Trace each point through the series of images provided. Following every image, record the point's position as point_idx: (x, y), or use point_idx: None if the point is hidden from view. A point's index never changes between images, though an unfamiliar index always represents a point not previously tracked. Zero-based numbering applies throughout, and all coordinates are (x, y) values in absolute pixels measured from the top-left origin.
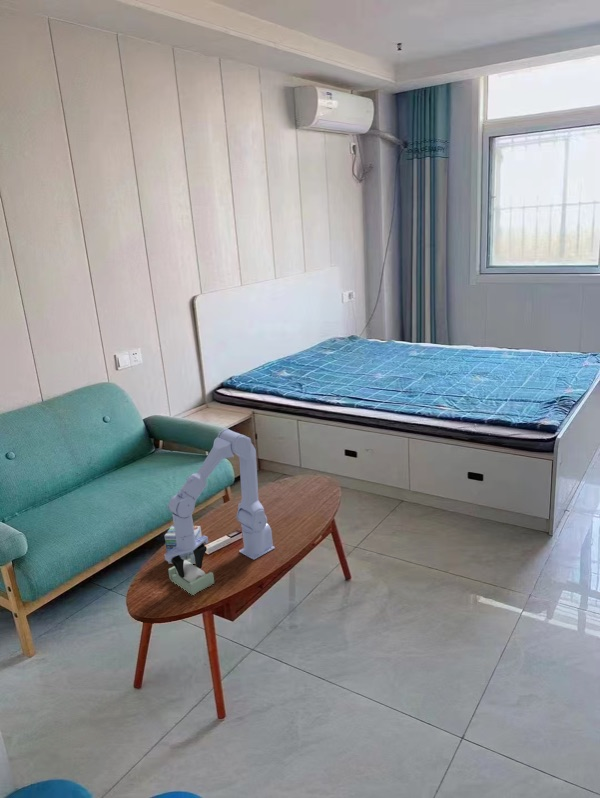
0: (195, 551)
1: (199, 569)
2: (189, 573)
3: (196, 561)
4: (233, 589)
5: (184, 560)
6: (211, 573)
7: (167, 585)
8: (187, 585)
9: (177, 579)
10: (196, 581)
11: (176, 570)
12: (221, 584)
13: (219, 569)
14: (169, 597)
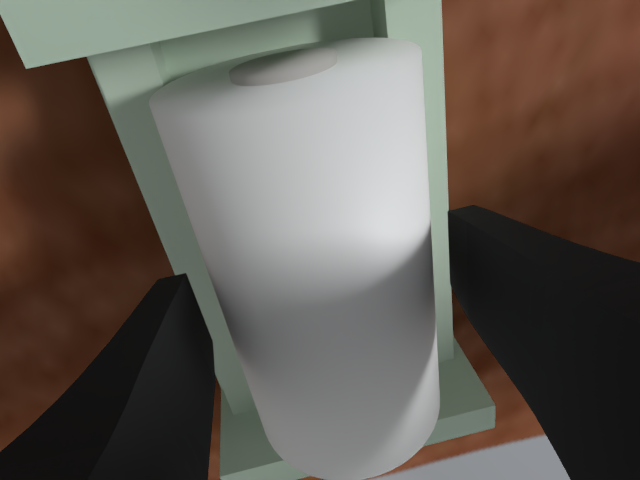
0: (632, 425)
1: (410, 439)
2: (277, 416)
3: (491, 274)
4: (496, 436)
5: (356, 116)
6: (479, 428)
7: (20, 95)
8: (218, 360)
9: (145, 196)
10: (296, 477)
11: (156, 122)
12: (478, 360)
13: (617, 160)
14: (20, 315)
